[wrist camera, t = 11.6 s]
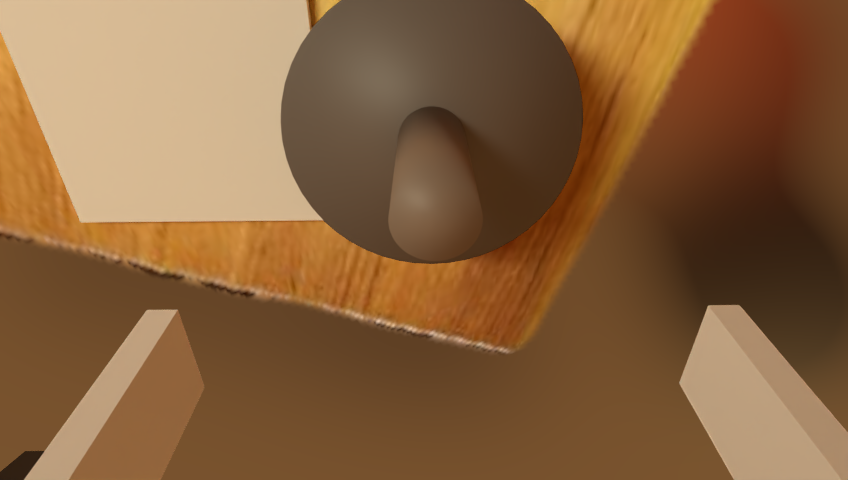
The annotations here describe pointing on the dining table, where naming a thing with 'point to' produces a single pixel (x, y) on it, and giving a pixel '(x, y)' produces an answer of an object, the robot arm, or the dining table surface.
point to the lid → (431, 124)
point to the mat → (163, 104)
